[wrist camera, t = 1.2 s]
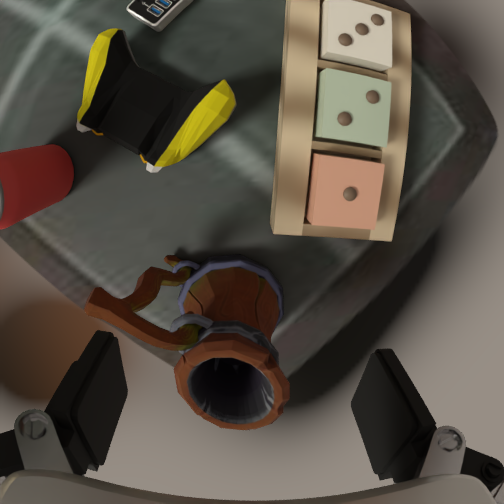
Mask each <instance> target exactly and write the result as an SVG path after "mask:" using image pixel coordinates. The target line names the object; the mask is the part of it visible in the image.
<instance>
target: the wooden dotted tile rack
mask: <svg viewBox="0 0 504 504" xmlns="http://www.w3.org/2000/svg"><path fill="white" fill-rule="evenodd" d="M324 1H325V0H286V12H285V29H284V45H283V61H282V76H281V90H280V104H279V118H278V131H277V144H276V157H275V169H274V181H273V193H272V205H271V217H270V225H271V228H272V231H273V234H283V235H301V236H317V237H334V238H349V239H364V240H378V241H392V237H393V232H394V227H395V222H396V216H397V211H398V205H399V199H400V193H401V186H402V180H403V172H404V165H405V157H406V148H407V138H408V127H409V114H410V97H411V23H410V14H408V13H406V12H403V11H400V10H398V9H395V8H392V7H389V6H386V5H383V4H380V3H376V2H373V1H370V0H353V1H357V2H361V3H364V4H368V5H371V6H375V7H378V8H381V9H384V10H387V11H390V12H391V16H392V67H391V68H389V69H386V70H383V71H376V70H372V69H368V68H364V67H360V66H355V65H351V64H346V63H341V62H336V61H331V60H326V59H320V40H321V9H322V3H323V2H324ZM326 68H330V69H335V70H340V71H345V72H350V73H355V74H359V75H364V76H368V77H372V78H376V79H380V80H384V81H387V82H391V103H390V117H389V130H388V140H387V148H386V147H379V146H372V145H367V144H361V143H355V142H349V141H342V140H336V139H328V138H321V137H314V134H315V122H316V109H317V95H318V79H319V73H320V72H321V71H323V70H324V69H326ZM313 153H317V154H326V155H333V156H341V157H348V158H355V159H362V160H368V161H374V162H378V163H382V164H385V167H384V175H383V182H382V189H381V196H380V202H379V208H378V214H377V220H376V226H375V230H370V229H358V228H345V227H331V226H317V225H311V223H310V222H309V221H308V219H307V218H306V213H307V204H308V195H309V186H310V177H311V167H312V156H313Z"/></svg>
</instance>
